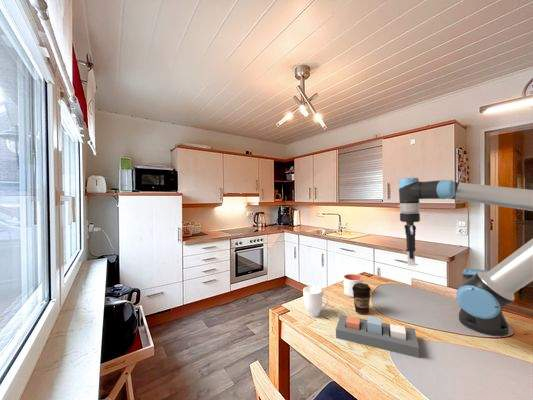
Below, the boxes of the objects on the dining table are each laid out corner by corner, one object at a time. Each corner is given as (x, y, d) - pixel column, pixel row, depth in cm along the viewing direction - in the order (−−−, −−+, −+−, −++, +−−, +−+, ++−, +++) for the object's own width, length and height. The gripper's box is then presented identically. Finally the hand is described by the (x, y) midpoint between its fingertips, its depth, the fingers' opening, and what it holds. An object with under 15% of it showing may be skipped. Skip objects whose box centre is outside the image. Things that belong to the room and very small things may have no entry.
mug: (305, 319, 105) (304, 293, 105) (303, 310, 114) (301, 286, 114) (330, 318, 105) (329, 292, 105) (326, 309, 114) (325, 285, 114)
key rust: (360, 329, 95) (360, 318, 94) (359, 336, 90) (359, 324, 90) (348, 326, 97) (347, 315, 97) (346, 333, 92) (345, 321, 92)
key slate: (381, 330, 91) (381, 318, 91) (381, 337, 86) (381, 325, 86) (368, 327, 93) (367, 316, 93) (367, 334, 89) (367, 322, 89)
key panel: (414, 337, 89) (414, 328, 89) (419, 357, 78) (419, 347, 78) (340, 322, 102) (340, 314, 101) (336, 337, 91) (335, 329, 91)
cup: (340, 292, 131) (339, 275, 131) (354, 289, 134) (354, 273, 134) (351, 300, 122) (351, 281, 122) (367, 296, 125) (366, 278, 125)
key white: (405, 338, 87) (404, 326, 87) (406, 347, 83) (406, 334, 83) (390, 335, 89) (390, 323, 89) (390, 343, 85) (390, 330, 85)
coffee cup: (374, 317, 104) (372, 289, 104) (354, 316, 106) (353, 288, 106) (369, 307, 113) (368, 282, 113) (351, 307, 115) (350, 281, 114)
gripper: (398, 211, 108) (400, 260, 109) (400, 214, 96) (402, 268, 97) (417, 211, 105) (419, 261, 105) (422, 213, 93) (423, 270, 94)
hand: (411, 265), depth 101 cm, fingers closed
